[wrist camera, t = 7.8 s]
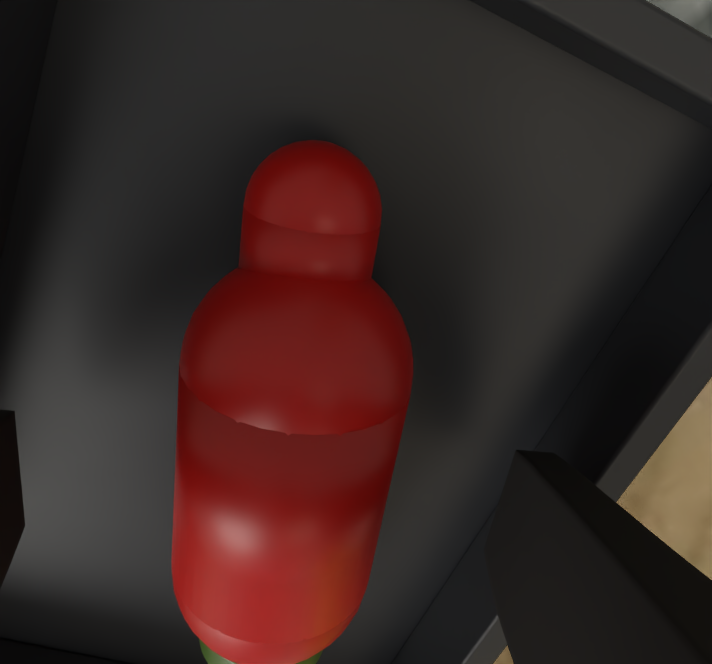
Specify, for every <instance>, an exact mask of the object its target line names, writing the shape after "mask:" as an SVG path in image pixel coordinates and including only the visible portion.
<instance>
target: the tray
mask: <svg viewBox="0 0 712 664" xmlns="http://www.w3.org/2000/svg"><path fill="white" fill-rule="evenodd" d="M306 140H320V141H326V142H330V143H333V144H336V145H338V146H340V147H343V148H345V149H347V150H348V151H350V152H351V153H352V154H354V155H355V156H356V157H358V158H359V159H360V160H361V161H362V162H363V164H364V165H365V166H366V167H367V168H368V170H369V171H370V173H371V175H372V177H373V178H374V180H375V182H376V184H377V187H378V190H379V193H380V197H381V205H382V216H381V227H380V233H379V238H378V244H377V249H376V255H375V261H374V266H373V272H372V279H373V280H374V281H375V282H376V283H377V284H378V285H379V286H380V287H381V288H382V289H383V290H384V291H385V292H386V293H387V294H388V295H389V297H390V298H391V299H392V301H393V303H394V304H395V306H396V307H397V309H398V311H399V312H400V314H401V316H402V318H403V321H404V324H405V326H406V329H407V332H408V335H409V338H410V341H411V347H412V355H413V379H412V388H411V395H410V400H409V404H408V408H407V413H406V417H405V422H404V426H403V431H402V435H401V439H400V444H399V448H398V453H397V457H396V462H395V466H394V470H393V475H392V479H391V484H390V488H389V493H388V497H387V502H386V506H385V510H384V515H383V519H382V524H381V528H380V533H379V537H378V541H377V546H376V550H375V555H374V559H373V564H372V568H371V572H370V577H369V581H368V585H367V588H366V591H365V594H364V596H363V599H362V601H361V604H360V607H359V609H358V611H357V613H356V614H355V616H354V617H353V619H352V620H351V622H350V623H349V625H348V626H347V627H346V629H345V630H344V631H343V633H342V634H341V635H340V636H339V637H338V638H337V639H336V640H335V641H334V642H333V643H332V644H331V645H329V646H328V647H326V648H325V649H323V651H322V654H321V656H320V658H319V660H318V661H317V663H316V664H493V663H494V662H495V660H496V659H497V658H498V656H499V655H500V654H501V653H502V651H503V650H504V649H505V647H506V646H507V642H506V639H505V636H504V633H503V630H502V627H501V624H500V621H499V618H498V615H497V611H496V607H495V602H494V598H493V594H492V589H491V585H490V580H489V575H488V570H487V565H486V560H485V555H484V547H485V544H486V541H487V537H488V534H489V531H490V528H491V525H492V522H493V519H494V516H495V513H496V510H497V507H498V503H499V500H500V497H501V494H502V491H503V488H504V485H505V482H506V479H507V476H508V473H509V469H510V466H511V463H512V460H513V457H514V454H515V451H516V450H527V451H540V452H553V453H555V454H556V455H558V456H559V457H560V458H562V459H563V460H565V461H566V462H567V463H569V464H570V465H571V466H572V467H574V468H575V469H576V470H577V471H579V472H580V473H581V474H582V475H584V476H585V477H586V478H587V479H588V480H590V481H591V482H592V483H593V484H595V485H596V486H597V487H598V488H599V489H601V490H602V491H603V492H604V493H605V494H606V495H608V496H609V497H610V498H611V499H612V500H614V501H615V502H617V500H618V499H619V498H620V497H621V495H622V494H623V493H624V491H625V490H626V489H627V487H628V486H629V485H630V483H631V482H632V481H633V479H634V478H635V477H636V476H637V474H638V473H639V472H640V470H641V469H642V468H643V466H644V465H645V464H646V462H647V461H648V460H649V459H650V457H651V456H652V455H653V453H654V452H655V451H656V449H657V448H658V447H659V445H660V444H661V443H662V441H663V440H664V439H665V438H666V436H667V435H668V434H669V432H670V431H671V430H672V428H673V427H674V426H675V424H676V423H677V422H678V420H679V419H680V418H681V417H682V415H683V414H684V413H685V411H686V410H687V409H688V407H689V406H690V405H691V403H692V402H693V401H694V400H695V398H696V397H697V396H698V394H699V393H700V392H701V390H702V389H703V388H704V386H705V385H706V384H707V382H708V381H709V380H710V379H711V377H712V38H710V37H708V36H707V35H705V34H703V33H701V32H700V31H698V30H696V29H695V28H693V27H691V26H689V25H688V24H686V23H684V22H682V21H681V20H679V19H677V18H675V17H674V16H672V15H670V14H669V13H667V12H665V11H663V10H662V9H660V8H658V7H656V6H655V5H653V4H651V3H650V2H648V1H646V0H0V410H12V411H15V420H16V431H17V442H18V452H19V463H20V474H21V485H22V495H23V506H24V517H25V528H24V530H23V533H22V536H21V538H20V541H19V543H18V546H17V549H16V551H15V554H14V557H13V559H12V562H11V564H10V567H9V569H8V572H7V574H6V576H5V579H4V581H3V584H2V586H1V589H0V664H208V663H207V661H206V659H205V658H204V656H203V653H202V650H201V647H200V642H199V638H198V637H197V636H196V635H195V634H194V633H193V632H192V630H191V628H190V627H189V625H188V624H187V622H186V621H185V619H184V617H183V615H182V612H181V610H180V608H179V605H178V602H177V599H176V596H175V593H174V588H173V578H172V565H171V560H172V535H173V509H174V483H175V458H176V432H177V406H178V380H179V361H180V354H181V348H182V342H183V339H184V335H185V332H186V329H187V327H188V325H189V322H190V320H191V317H192V315H193V312H194V311H195V310H196V308H197V307H198V305H199V304H200V302H201V301H202V300H203V298H204V297H205V295H206V294H207V293H208V292H209V290H210V289H211V288H212V287H213V286H214V285H215V284H217V283H218V282H219V281H220V280H221V279H222V278H223V277H224V276H225V275H227V274H228V273H230V272H231V271H233V270H234V269H236V268H238V266H239V253H240V241H241V228H242V215H243V203H244V199H245V193H246V188H247V186H248V183H249V181H250V178H251V176H252V175H253V173H254V172H255V170H256V169H257V167H258V166H259V164H260V163H261V162H262V161H263V160H264V159H266V158H267V157H268V156H269V155H270V154H271V153H273V152H274V151H276V150H278V149H279V148H281V147H282V146H285V145H288V144H291V143H294V142H297V141H306Z"/></svg>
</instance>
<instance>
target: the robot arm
mask: <svg viewBox="0 0 712 664" xmlns="http://www.w3.org/2000/svg"><path fill="white" fill-rule="evenodd" d="M24 528H25V517H24V506H23V495H22V485H21V474H20V463H19V452H18V442H17V431H16V420H15V411H12V410H0V589H1V586H2V584H3V581H4V579H5V576H6V574H7V572H8V569H9V567H10V564H11V562H12V559H13V557H14V554H15V551H16V549H17V546H18V543H19V541H20V538H21V536H22V533H23V530H24ZM484 555H485V560H486V565H487V570H488V575H489V580H490V585H491V589H492V594H493V598H494V602H495V607H496V611H497V615H498V618H499V621H500V624H501V627H502V630H503V633H504V636H505V639H506V642H507V645H508V648H509V650H510V653H511V656H512V659H513V662H514V664H712V580H711V579H709V578H708V577H707V576H705V575H704V574H703V573H702V572H700V571H699V570H698V569H697V568H695V567H694V566H693V565H691V564H690V563H689V562H688V561H686V560H685V559H684V558H683V557H681V556H680V555H679V554H678V553H676V552H675V551H674V550H673V549H671V548H670V547H669V546H668V545H667V544H665V543H664V542H663V541H662V540H660V539H659V538H658V537H657V536H656V535H654V534H653V533H652V532H651V531H649V530H648V529H647V528H646V527H645V526H643V525H642V524H641V523H640V522H639V521H637V520H636V519H635V518H634V517H633V516H631V515H630V514H629V513H628V512H627V511H626V510H624V509H623V508H622V507H621V506H620V505H618V504H617V503H616V502H615V501H614V500H612V499H611V498H610V497H609V496H608V495H606V494H605V493H604V492H603V491H602V490H601V489H599V488H598V487H597V486H596V485H595V484H593V483H592V482H591V481H590V480H588V479H587V478H586V477H585V476H584V475H582V474H581V473H580V472H579V471H577V470H576V469H575V468H574V467H572V466H571V465H570V464H569V463H567V462H566V461H565V460H563V459H562V458H560V457H559V456H558V455H556V454H555V453H553V452H540V451H527V450H516V451H515V454H514V457H513V460H512V463H511V466H510V469H509V473H508V476H507V479H506V482H505V485H504V488H503V491H502V494H501V497H500V500H499V503H498V507H497V510H496V513H495V516H494V519H493V522H492V525H491V528H490V531H489V534H488V537H487V541H486V544H485V547H484Z"/></svg>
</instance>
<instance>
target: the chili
mask: <svg viewBox="0 0 712 664" xmlns="http://www.w3.org/2000/svg"><path fill="white" fill-rule="evenodd" d="M381 216H382V205H381V197H380V193H379V190H378V187H377V184H376V182H375V180H374V178H373V177H372V175H371V173H370V171H369V170H368V168H367V167H366V166H365V165H364V164H363V162H362V161H361V160H360V159H359V158H358V157H356V156H355V155H354V154H352V153H351V152H350V151H348V150H347V149H345V148H343V147H340V146H338V145H336V144H333V143H330V142H326V141H320V140H306V141H297V142H294V143H291V144H288V145H285V146H282V147H281V148H279V149H278V150H276V151H274V152H273V153H271V154H270V155H269V156H268V157H267V158H266V159H264V160H263V161H262V162H261V163H260V164H259V166H258V167H257V169H256V170H255V172H254V173H253V175H252V176H251V178H250V181H249V183H248V186H247V188H246V193H245V199H244V203H243V215H242V228H241V241H240V253H239V266H238V268H236V269H234V270H233V271H231V272H230V273H228V274H227V275H225V276H224V277H223V278H222V279H221V280H220V281H219V282H218V283H217V284H215V285H214V286H213V287H212V288H211V289H210V290H209V292H208V293H207V294H206V295H205V297H204V298H203V300H202V301H201V302H200V304H199V305H198V307H197V308H196V310H195V311H194V312H193V315H192V317H191V320H190V322H189V325H188V327H187V329H186V332H185V335H184V339H183V342H182V348H181V354H180V361H179V380H178V406H177V432H176V458H175V483H174V509H173V535H172V560H171V565H172V578H173V588H174V593H175V596H176V599H177V602H178V605H179V608H180V610H181V612H182V615H183V617H184V619H185V621H186V622H187V624H188V625H189V627H190V628H191V630H192V632H193V633H194V634H195V635H196V636H197V637H198V638H199V642H200V647H201V650H202V653H203V656H204V658H205V659H206V661H207V663H208V664H316V663H317V661H318V660H319V658H320V656H321V654H322V651H323V649H325V648H326V647H328V646H329V645H331V644H332V643H333V642H334V641H335V640H336V639H337V638H338V637H339V636H340V635H341V634H342V633H343V631H344V630H345V629H346V627H347V626H348V625H349V623H350V622H351V620H352V619H353V617H354V616H355V614H356V613H357V611H358V609H359V607H360V604H361V601H362V599H363V596H364V594H365V591H366V588H367V585H368V581H369V577H370V572H371V568H372V564H373V559H374V555H375V550H376V546H377V541H378V537H379V533H380V528H381V524H382V519H383V515H384V510H385V506H386V502H387V497H388V493H389V488H390V484H391V479H392V475H393V470H394V466H395V462H396V457H397V453H398V448H399V444H400V439H401V435H402V431H403V426H404V422H405V417H406V413H407V408H408V404H409V400H410V395H411V388H412V379H413V355H412V347H411V341H410V338H409V335H408V332H407V329H406V326H405V324H404V321H403V318H402V316H401V314H400V312H399V311H398V309H397V307H396V306H395V304H394V303H393V301H392V299H391V298H390V297H389V295H388V294H387V293H386V292H385V291H384V290H383V289H382V288H381V287H380V286H379V285H378V284H377V283H376V282H375V281H374V280H373V279H372V272H373V266H374V261H375V255H376V249H377V244H378V238H379V233H380V227H381Z"/></svg>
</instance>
